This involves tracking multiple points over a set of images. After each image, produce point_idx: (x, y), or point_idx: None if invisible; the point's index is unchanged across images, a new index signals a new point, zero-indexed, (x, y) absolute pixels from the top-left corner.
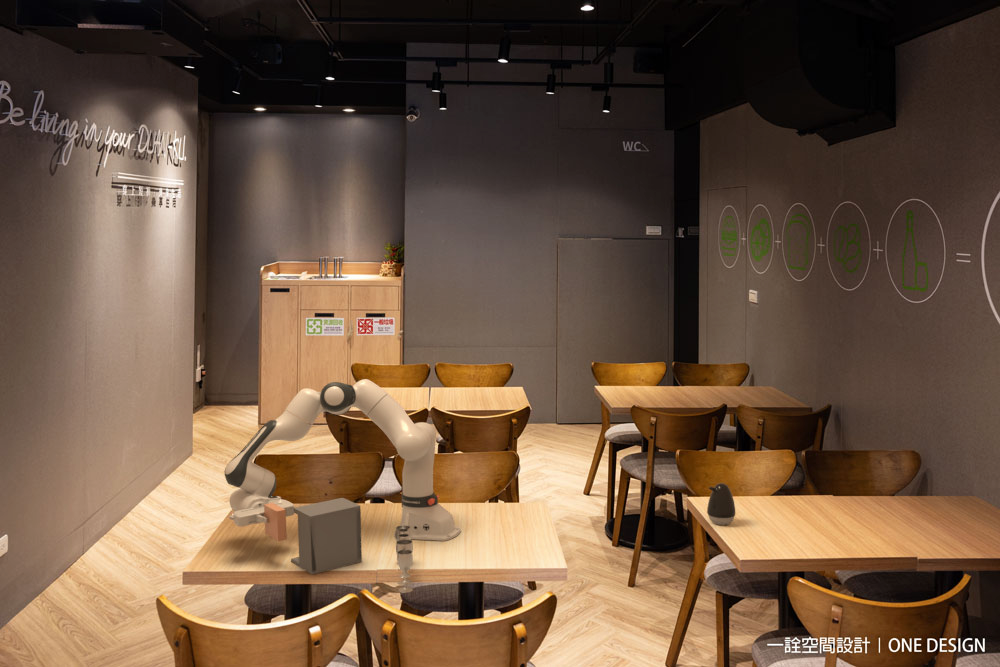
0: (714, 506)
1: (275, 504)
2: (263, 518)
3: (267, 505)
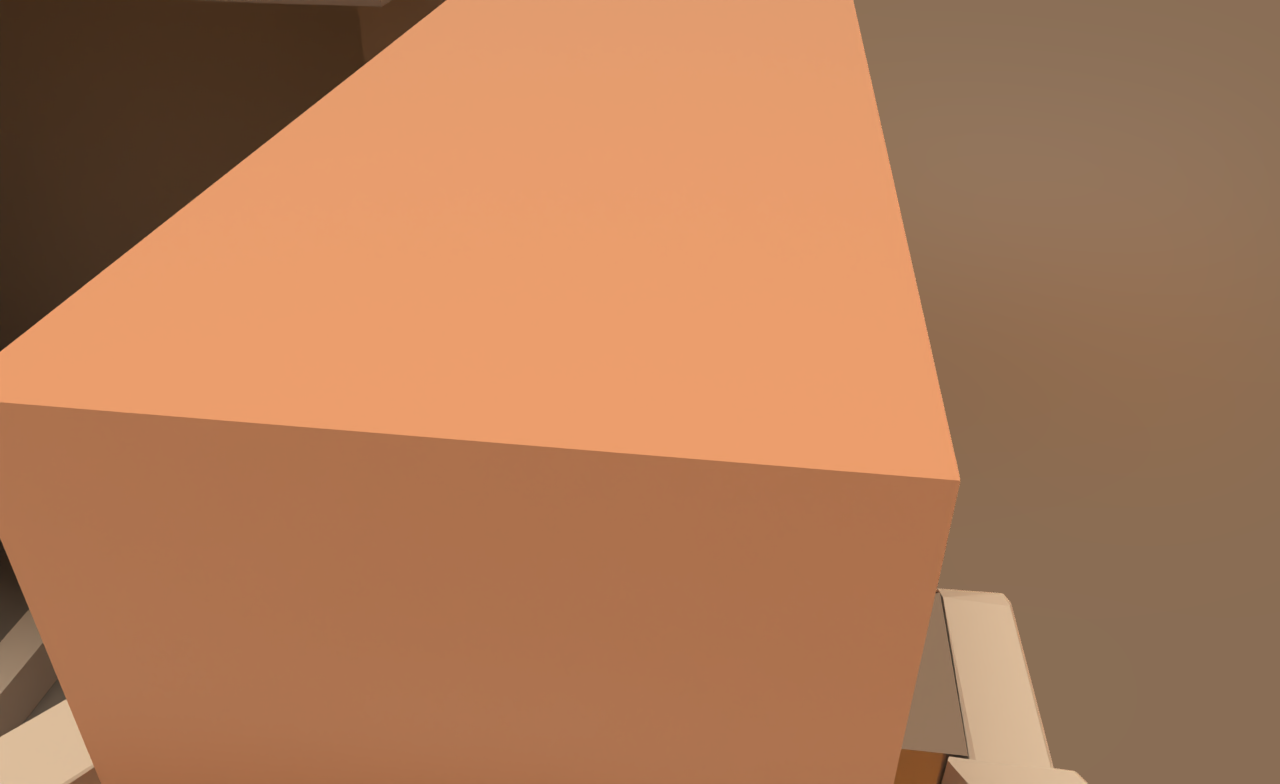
0: None
1: (306, 126)
2: (1028, 743)
3: (803, 207)
